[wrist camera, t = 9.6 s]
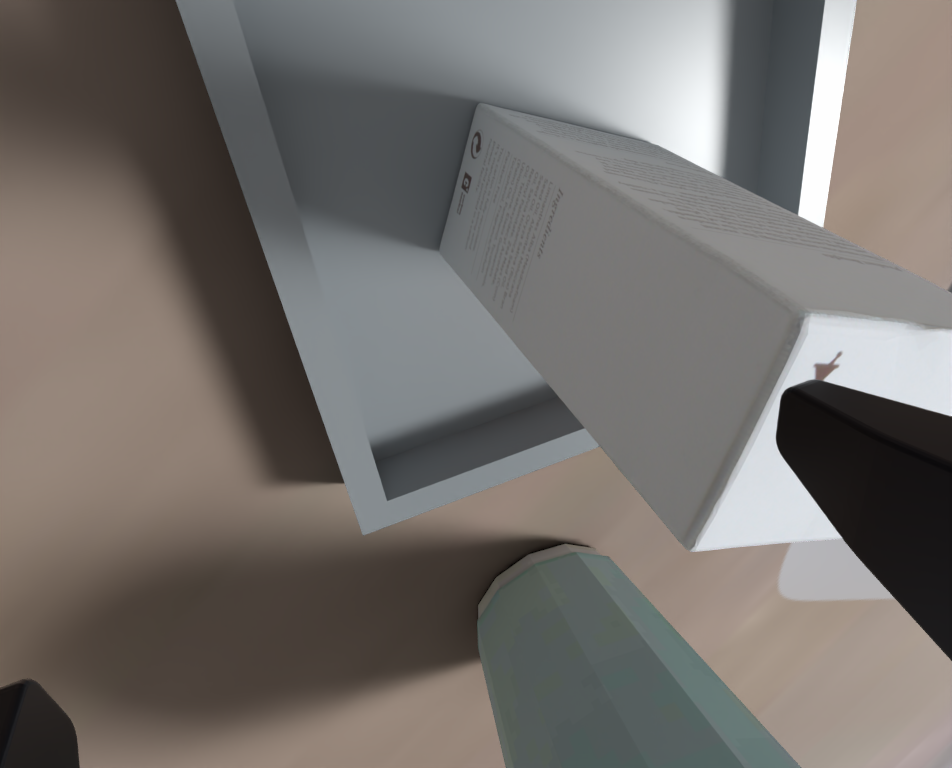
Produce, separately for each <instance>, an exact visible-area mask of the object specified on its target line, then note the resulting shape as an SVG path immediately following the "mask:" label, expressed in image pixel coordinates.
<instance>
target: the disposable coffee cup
mask: <svg viewBox="0 0 952 768" xmlns="http://www.w3.org/2000/svg"><path fill="white" fill-rule="evenodd" d="M477 630H478V650H479V654H480V658H481V663H482V667H483V671H484V676H485V680H486V684H487V688H488V693H489V697H490V701H491V706H492V710H493V714H494V719H495V723H496V727H497V731H498V736H499V740H500V744H501V749H502V753H503V757H504V762H505V766H506V768H801V767H800V766H799V765H798V763H797V762H796V761H795V760H794V759H793V758H792V757H791V756H790V755H789V754H788V753H787V751H786V750H785V749H784V748H783V747H782V746H781V745H780V744H779V743H778V742H777V740H776V739H775V738H774V737H773V736H772V735H771V734H770V733H769V732H768V731H767V730H766V728H765V727H764V726H763V725H762V724H761V723H760V722H759V721H758V720H757V719H756V717H755V716H754V715H753V714H752V713H751V712H750V711H749V710H748V709H747V708H746V707H745V705H744V704H743V703H742V702H741V701H740V700H739V699H738V698H737V697H736V696H735V694H734V693H733V692H732V691H731V690H730V689H729V688H728V687H727V686H726V685H725V684H724V682H723V681H722V680H721V679H720V678H719V677H718V676H717V675H716V674H715V673H714V671H713V670H712V669H711V668H710V667H709V666H708V665H707V664H706V663H705V662H704V661H703V659H702V658H701V657H700V656H699V655H698V654H697V653H696V652H695V651H694V650H693V648H692V647H691V646H690V645H689V644H688V643H687V642H686V641H685V640H684V639H683V638H682V636H681V635H680V634H679V633H678V632H677V631H676V630H675V629H674V628H673V627H672V625H671V624H670V623H669V622H668V621H667V620H666V619H665V618H664V617H663V616H662V615H661V613H660V612H659V611H658V610H657V609H656V608H655V607H654V606H653V605H652V604H651V602H650V601H649V600H648V599H647V598H646V597H645V596H644V595H643V594H642V593H641V592H640V590H639V589H638V588H637V587H636V586H635V585H634V584H633V583H632V582H631V581H630V579H629V578H628V577H627V576H626V575H625V574H624V573H623V572H622V571H621V570H620V569H619V567H618V566H617V565H616V564H615V563H614V562H613V561H612V560H611V559H610V558H609V557H608V556H602V555H600V554H599V553H598V551H597V550H596V549H595V548H589V547H583V546H576V545H569V544H563V545H559V546H556V547H552V548H549V549H546V550H542V551H539V552H535V553H532V554H528V555H527V556H526V557H524V558H523V559H521V560H520V561H519V562H517V563H516V564H514V565H513V566H512V567H510V568H509V569H507V570H506V571H504V572H503V573H502V574H500V575H499V576H497V577H496V578H495V580H494V581H493V583H492V585H491V586H490V588H489V589H488V591H487V592H486V594H485V595H484V597H483V598H482V600H481V602H480V603H479V605H478V621H477Z"/></svg>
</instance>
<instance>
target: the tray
mask: <svg viewBox="0 0 952 768" xmlns="http://www.w3.org/2000/svg"><path fill="white" fill-rule="evenodd" d="M856 2H857V0H176V3H177V6H178V9H179V11H180V14H181V17H182V20H183V23H184V26H185V29H186V31H187V34H188V37H189V40H190V43H191V46H192V49H193V51H194V54H195V57H196V60H197V63H198V66H199V69H200V71H201V74H202V77H203V80H204V83H205V86H206V89H207V91H208V94H209V97H210V100H211V103H212V106H213V109H214V111H215V114H216V117H217V120H218V123H219V126H220V129H221V131H222V134H223V137H224V140H225V143H226V146H227V149H228V151H229V154H230V157H231V160H232V163H233V166H234V169H235V171H236V174H237V177H238V180H239V183H240V186H241V189H242V191H243V194H244V197H245V200H246V203H247V206H248V209H249V211H250V214H251V217H252V220H253V223H254V226H255V229H256V231H257V234H258V237H259V240H260V243H261V246H262V249H263V251H264V254H265V257H266V260H267V263H268V266H269V269H270V271H271V274H272V277H273V280H274V283H275V286H276V289H277V291H278V294H279V297H280V300H281V303H282V306H283V309H284V311H285V314H286V317H287V320H288V323H289V326H290V329H291V331H292V334H293V337H294V340H295V343H296V346H297V349H298V351H299V354H300V357H301V360H302V363H303V366H304V369H305V371H306V374H307V377H308V380H309V383H310V386H311V388H312V391H313V394H314V397H315V400H316V403H317V406H318V408H319V411H320V414H321V417H322V420H323V423H324V426H325V428H326V431H327V434H328V437H329V440H330V443H331V446H332V448H333V451H334V454H335V457H336V460H337V463H338V466H339V468H340V471H341V474H342V477H343V480H344V483H345V486H346V488H347V491H348V494H349V497H350V500H351V503H352V506H353V508H354V511H355V514H356V517H357V520H358V523H359V526H360V528H361V531H362V534H363V535H366V534H369V533H371V532H374V531H377V530H379V529H382V528H385V527H387V526H390V525H393V524H395V523H398V522H401V521H403V520H406V519H409V518H411V517H414V516H416V515H419V514H422V513H424V512H427V511H430V510H432V509H435V508H438V507H440V506H443V505H446V504H448V503H451V502H454V501H456V500H459V499H462V498H464V497H467V496H470V495H472V494H475V493H478V492H480V491H483V490H485V489H488V488H491V487H493V486H496V485H499V484H501V483H504V482H507V481H509V480H512V479H515V478H517V477H520V476H523V475H525V474H528V473H531V472H533V471H536V470H539V469H541V468H544V467H547V466H549V465H552V464H555V463H557V462H560V461H562V460H565V459H568V458H570V457H573V456H576V455H578V454H581V453H584V452H586V451H589V450H592V449H594V448H597V447H600V446H599V445H598V443H597V442H596V441H595V440H594V439H593V437H592V436H591V435H590V434H589V433H588V431H587V430H586V429H585V428H584V426H583V425H582V424H581V423H580V422H579V421H578V419H577V418H576V417H575V416H574V415H573V413H572V412H571V411H570V410H569V409H568V407H567V406H566V405H565V404H564V402H563V401H562V400H561V399H560V398H559V396H558V395H557V394H556V393H555V392H554V390H553V389H552V388H551V387H550V386H549V384H548V383H547V382H546V380H545V379H544V378H543V377H542V376H541V375H540V374H539V373H538V371H537V370H536V369H535V368H534V367H533V366H532V364H531V363H530V362H529V361H528V359H527V358H526V357H525V356H524V355H523V353H522V352H521V351H520V350H519V349H518V347H517V346H516V345H515V344H514V342H513V341H512V340H511V339H510V338H509V336H508V335H507V334H506V333H505V332H504V330H503V329H502V328H501V327H500V325H499V324H498V323H497V322H496V321H495V319H494V318H493V317H492V316H491V315H490V313H489V312H488V311H487V310H486V309H485V307H484V306H483V305H482V304H481V303H480V302H479V300H478V299H477V298H476V297H475V295H474V294H473V293H472V292H471V291H470V289H469V288H468V287H467V286H466V285H465V283H464V282H463V281H462V280H461V279H460V277H459V276H458V275H457V274H456V273H455V271H454V270H453V269H452V268H451V266H450V265H449V264H448V263H447V262H446V261H445V260H444V258H443V257H442V256H441V254H440V251H439V249H440V244H441V240H442V236H443V232H444V229H445V225H446V221H447V217H448V214H449V210H450V206H451V203H452V199H453V195H454V191H455V187H456V183H457V179H458V175H459V172H460V168H461V164H462V160H463V156H464V152H465V148H466V144H467V140H468V136H469V133H470V129H471V125H472V121H473V117H474V113H475V109H476V107H477V105H478V104H479V103H484V104H488V105H492V106H496V107H500V108H504V109H509V110H513V111H517V112H521V113H525V114H530V115H534V116H538V117H543V118H547V119H551V120H555V121H560V122H564V123H568V124H572V125H576V126H581V127H585V128H589V129H593V130H597V131H601V132H605V133H609V134H614V135H618V136H622V137H626V138H630V139H635V140H639V141H643V142H647V143H651V144H655V145H658V146H660V147H662V148H664V149H667V150H669V151H671V152H673V153H675V154H677V155H679V156H680V157H682V158H684V159H686V160H688V161H690V162H692V163H694V164H696V165H698V166H700V167H702V168H704V169H706V170H708V171H710V172H712V173H714V174H716V175H718V176H720V177H722V178H724V179H726V180H728V181H730V182H732V183H734V184H736V185H738V186H740V187H742V188H744V189H746V190H748V191H750V192H752V193H754V194H756V195H758V196H760V197H762V198H764V199H766V200H768V201H770V202H772V203H774V204H776V205H778V206H780V207H782V208H784V209H786V210H788V211H790V212H792V213H794V214H796V215H798V216H800V217H802V218H804V219H806V220H808V221H810V222H812V223H814V224H816V225H818V226H820V227H822V228H823V224H824V217H825V210H826V204H827V197H828V190H829V184H830V177H831V170H832V163H833V157H834V150H835V143H836V136H837V130H838V123H839V116H840V109H841V103H842V96H843V89H844V83H845V76H846V69H847V62H848V56H849V49H850V42H851V35H852V29H853V22H854V15H855V9H856Z"/></svg>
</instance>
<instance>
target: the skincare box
mask: <svg viewBox="0 0 952 768" xmlns="http://www.w3.org/2000/svg"><path fill="white" fill-rule="evenodd" d="M439 251H440V254H441V256H442V257H443V258H444V260H445V261H446V262H447V263H448V264H449V265H450V266H451V268H452V269H453V270H454V271H455V273H456V274H457V275H458V276H459V277H460V279H461V280H462V281H463V282H464V283H465V285H466V286H467V287H468V288H469V289H470V291H471V292H472V293H473V294H474V295H475V297H476V298H477V299H478V300H479V302H480V303H481V304H482V305H483V306H484V307H485V309H486V310H487V311H488V312H489V313H490V315H491V316H492V317H493V318H494V319H495V321H496V322H497V323H498V324H499V325H500V327H501V328H502V329H503V330H504V332H505V333H506V334H507V335H508V336H509V338H510V339H511V340H512V341H513V342H514V344H515V345H516V346H517V347H518V349H519V350H520V351H521V352H522V353H523V355H524V356H525V357H526V358H527V359H528V361H529V362H530V363H531V364H532V366H533V367H534V368H535V369H536V370H537V371H538V373H539V374H540V375H541V376H542V377H543V378H544V379H545V380H546V382H547V383H548V384H549V386H550V387H551V388H552V389H553V390H554V392H555V393H556V394H557V395H558V396H559V398H560V399H561V400H562V401H563V402H564V404H565V405H566V406H567V407H568V409H569V410H570V411H571V412H572V413H573V415H574V416H575V417H576V418H577V419H578V421H579V422H580V423H581V424H582V425H583V426H584V428H585V429H586V430H587V431H588V433H589V434H590V435H591V436H592V437H593V439H594V440H595V441H596V442H597V443H598V445H599V446H600V447H601V448H602V449H603V451H604V452H605V453H606V454H607V455H608V457H609V458H610V459H611V460H612V461H613V463H614V464H615V465H616V467H617V468H618V469H619V470H620V471H621V472H622V474H623V475H624V476H625V477H626V478H627V480H628V481H629V482H630V483H631V484H632V485H633V487H634V488H635V489H636V490H637V491H638V493H639V494H640V495H641V496H642V497H643V499H644V500H645V501H646V502H647V503H648V505H649V506H650V507H651V508H652V509H653V511H654V512H655V513H656V514H657V515H658V517H659V518H660V519H661V520H662V521H663V523H664V524H665V525H666V526H667V528H668V529H669V530H670V531H671V532H672V534H673V535H674V536H675V537H676V539H677V540H678V541H679V542H680V543H681V544H682V545H683V546H684V547H685V549H687V550H689V551H691V552H695V551H708V550H717V549H726V548H735V547H746V546H758V545H768V544H780V543H794V542H807V541H820V540H833V539H843V538H842V537H841V536H840V535H839V533H838V532H837V531H836V529H835V528H834V526H833V525H832V524H831V522H830V521H829V520H828V518H827V517H826V516H825V514H824V513H823V512H822V510H821V509H820V508H819V506H818V505H817V503H816V502H815V501H814V499H813V498H812V497H811V495H810V494H809V493H808V491H807V490H806V489H805V487H804V486H803V485H802V483H801V482H800V480H799V479H798V478H797V476H796V475H795V474H794V472H793V471H792V470H791V468H790V467H789V466H788V464H787V463H786V462H785V460H784V459H783V457H782V456H781V454H780V452H779V450H778V447H777V444H776V429H777V421H778V413H779V406H780V399H781V395H782V394H783V392H784V391H785V390H786V389H787V388H789V387H792V386H794V385H797V384H799V383H802V382H805V381H807V380H812V379H817V380H822V381H826V382H829V383H833V384H836V385H840V386H844V387H847V388H851V389H855V390H858V391H862V392H865V393H869V394H873V395H876V396H880V397H884V398H887V399H891V400H894V401H898V402H902V403H905V404H909V405H913V406H916V407H920V408H923V409H927V410H931V411H934V412H938V413H941V414H945V415H949V416H952V293H951V292H949V291H947V290H945V289H943V288H941V287H939V286H937V285H935V284H934V283H932V282H930V281H928V280H926V279H924V278H922V277H920V276H918V275H916V274H914V273H912V272H910V271H908V270H906V269H904V268H902V267H900V266H898V265H896V264H894V263H892V262H890V261H888V260H886V259H884V258H882V257H880V256H878V255H876V254H874V253H872V252H870V251H868V250H866V249H864V248H862V247H860V246H858V245H856V244H854V243H852V242H850V241H848V240H846V239H844V238H842V237H840V236H838V235H836V234H834V233H832V232H830V231H828V230H826V229H824V228H822V227H820V226H818V225H816V224H814V223H812V222H810V221H808V220H806V219H804V218H802V217H800V216H798V215H796V214H794V213H792V212H790V211H788V210H786V209H784V208H782V207H780V206H778V205H776V204H774V203H772V202H770V201H768V200H766V199H764V198H762V197H760V196H758V195H756V194H754V193H752V192H750V191H748V190H746V189H744V188H742V187H740V186H738V185H736V184H734V183H732V182H730V181H728V180H726V179H724V178H722V177H720V176H718V175H716V174H714V173H712V172H710V171H708V170H706V169H704V168H702V167H700V166H698V165H696V164H694V163H692V162H690V161H688V160H686V159H684V158H682V157H680V156H679V155H677V154H675V153H673V152H671V151H669V150H667V149H664V148H662V147H660V146H658V145H655V144H651V143H647V142H643V141H639V140H635V139H630V138H626V137H622V136H618V135H614V134H609V133H605V132H601V131H597V130H593V129H589V128H585V127H581V126H576V125H572V124H568V123H564V122H560V121H555V120H551V119H547V118H543V117H538V116H534V115H530V114H525V113H521V112H517V111H513V110H509V109H504V108H500V107H496V106H492V105H488V104H484V103H479V104H478V105H477V107H476V109H475V113H474V117H473V121H472V125H471V129H470V133H469V136H468V140H467V144H466V148H465V152H464V156H463V160H462V164H461V168H460V172H459V175H458V179H457V183H456V187H455V191H454V195H453V199H452V203H451V206H450V210H449V214H448V217H447V221H446V225H445V229H444V232H443V236H442V240H441V244H440V249H439Z"/></svg>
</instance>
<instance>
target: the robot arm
mask: <svg viewBox="0 0 952 768" xmlns="http://www.w3.org/2000/svg"><path fill="white" fill-rule="evenodd" d="M776 444H777V447H778V450H779V452H780V454H781V456H782V457H783V459H784V460H785V462H786V463H787V464H788V466H789V467H790V468H791V470H792V471H793V472H794V474H795V475H796V476H797V478H798V479H799V480H800V482H801V483H802V485H803V486H804V487H805V489H806V490H807V491H808V493H809V494H810V495H811V497H812V498H813V499H814V501H815V502H816V503H817V505H818V506H819V508H820V509H821V510H822V512H823V513H824V514H825V516H826V517H827V518H828V520H829V521H830V522H831V524H832V525H833V526H834V528H835V529H836V531H837V532H838V533H839V535H840V536H841V537H842V538H843V539H844V541H845V542H846V543H847V544H848V546H849V547H850V548H851V549H852V551H853V552H854V553H855V554H856V556H857V557H858V558H859V559H860V560H861V561H862V562H863V563H864V565H865V566H866V567H867V568H868V569H869V570H870V571H871V572H872V574H873V575H874V576H875V577H876V578H877V579H878V580H879V581H880V582H881V584H882V585H883V586H884V587H885V588H886V589H887V590H888V591H889V592H890V593H891V594H892V596H893V597H894V598H895V599H896V600H897V601H898V602H899V603H900V604H901V606H902V607H903V608H904V609H905V610H906V611H907V612H908V613H909V614H910V615H911V617H912V618H913V619H914V620H915V621H916V622H917V623H918V624H919V625H920V627H921V628H922V629H923V630H924V631H925V632H926V633H927V634H928V635H929V636H930V638H931V639H932V640H933V641H934V642H935V643H936V644H937V645H938V646H939V647H940V649H941V650H942V651H943V652H944V653H945V654H946V655H947V656H948V657H949V658H950V660H951V661H952V416H949V415H945V414H941V413H938V412H934V411H931V410H927V409H923V408H920V407H916V406H913V405H909V404H905V403H902V402H898V401H894V400H891V399H887V398H884V397H880V396H876V395H873V394H869V393H865V392H862V391H858V390H855V389H851V388H847V387H844V386H840V385H836V384H833V383H829V382H826V381H822V380H817V379H812V380H807V381H805V382H802V383H799V384H797V385H794V386H792V387H789V388H787V389H786V390H785V391H784V392H783V394H782V395H781V399H780V406H779V413H778V421H777V429H776ZM0 768H80V767H79V755H78V743H77V736H76V732H75V728H74V726H73V723H72V721H71V720H70V718H69V717H68V715H67V714H66V713H65V712H64V711H63V710H62V709H61V708H60V707H59V705H58V704H57V703H56V702H55V701H54V700H53V699H52V698H51V697H50V695H49V694H48V693H47V692H46V691H45V690H44V689H43V688H42V687H41V685H40V684H38V683H37V682H36V681H34V680H32V679H22V680H20V681H17V682H14V683H12V684H9V685H6V686H4V687H1V688H0Z"/></svg>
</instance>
